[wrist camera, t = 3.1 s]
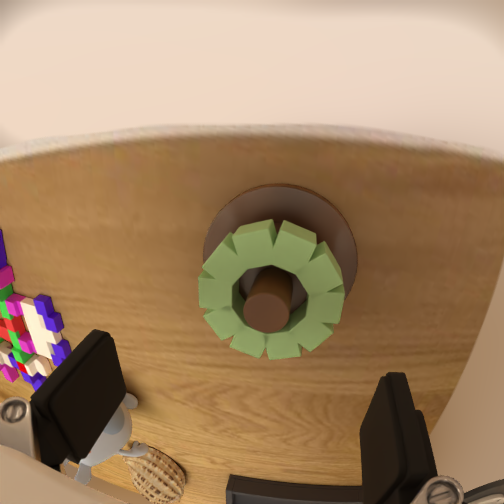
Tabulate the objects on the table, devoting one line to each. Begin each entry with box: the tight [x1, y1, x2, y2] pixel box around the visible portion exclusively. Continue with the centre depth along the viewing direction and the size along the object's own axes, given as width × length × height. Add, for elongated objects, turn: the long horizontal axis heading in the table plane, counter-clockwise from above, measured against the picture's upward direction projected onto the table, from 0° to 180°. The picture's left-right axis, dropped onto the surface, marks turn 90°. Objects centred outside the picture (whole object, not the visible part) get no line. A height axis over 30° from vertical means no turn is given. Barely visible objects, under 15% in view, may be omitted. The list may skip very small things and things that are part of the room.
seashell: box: [122, 447, 186, 504], centre depth 33 cm, size 8×6×10 cm
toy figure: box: [63, 393, 149, 485], centre depth 24 cm, size 11×6×12 cm, turn 54°
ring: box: [198, 219, 345, 360], centre depth 17 cm, size 7×8×2 cm
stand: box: [203, 184, 357, 333], centre depth 18 cm, size 10×10×7 cm
